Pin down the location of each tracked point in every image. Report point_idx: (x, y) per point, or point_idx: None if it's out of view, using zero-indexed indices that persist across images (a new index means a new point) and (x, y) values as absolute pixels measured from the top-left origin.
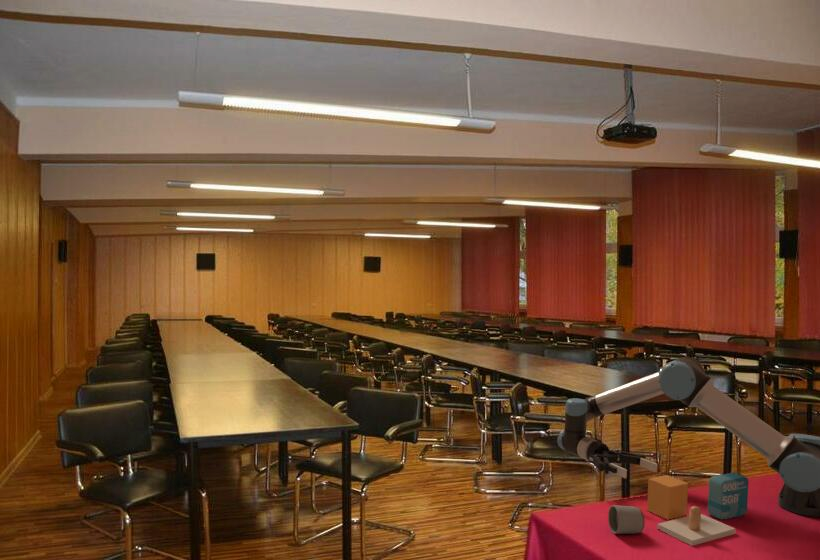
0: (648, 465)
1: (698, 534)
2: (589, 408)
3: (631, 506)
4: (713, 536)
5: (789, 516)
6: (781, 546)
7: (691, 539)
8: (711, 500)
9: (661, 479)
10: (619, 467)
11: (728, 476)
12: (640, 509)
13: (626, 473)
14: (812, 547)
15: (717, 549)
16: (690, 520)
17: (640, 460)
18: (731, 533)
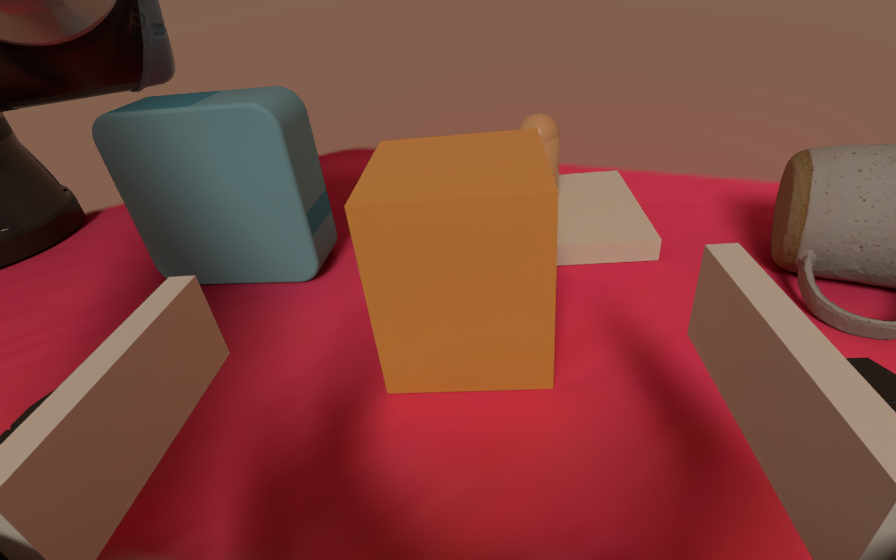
0: (152, 395)
1: (560, 183)
2: None
3: (856, 155)
4: None
5: (118, 226)
6: None
7: (614, 173)
8: (312, 205)
9: (473, 175)
10: (792, 301)
11: (196, 99)
12: (800, 154)
13: (699, 288)
14: (322, 155)
15: None
16: (558, 168)
17: (21, 521)
18: None
